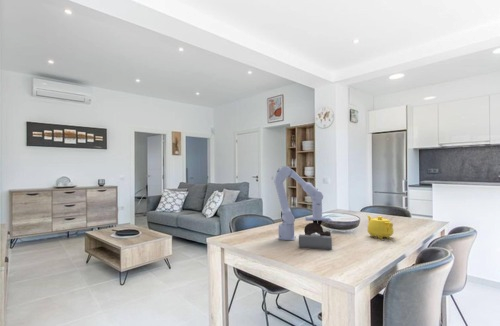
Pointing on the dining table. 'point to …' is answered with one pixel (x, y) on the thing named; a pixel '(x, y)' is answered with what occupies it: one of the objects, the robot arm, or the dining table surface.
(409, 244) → the dining table surface
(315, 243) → the block
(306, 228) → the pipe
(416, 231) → the dining table surface
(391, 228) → the teapot
